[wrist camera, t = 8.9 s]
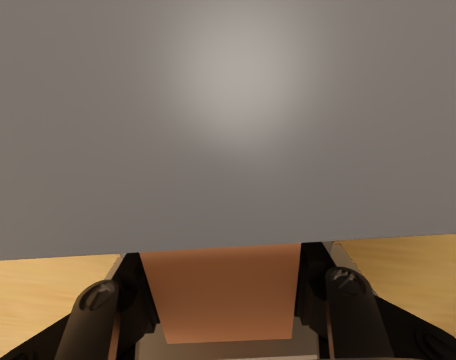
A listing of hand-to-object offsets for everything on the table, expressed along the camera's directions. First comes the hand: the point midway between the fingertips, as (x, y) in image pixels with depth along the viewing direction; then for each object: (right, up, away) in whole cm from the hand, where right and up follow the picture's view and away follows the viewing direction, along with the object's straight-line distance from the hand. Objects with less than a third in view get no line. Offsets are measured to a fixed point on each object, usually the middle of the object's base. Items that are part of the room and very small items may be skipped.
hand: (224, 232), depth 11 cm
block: (0, +1, +1) cm, 1 cm away
